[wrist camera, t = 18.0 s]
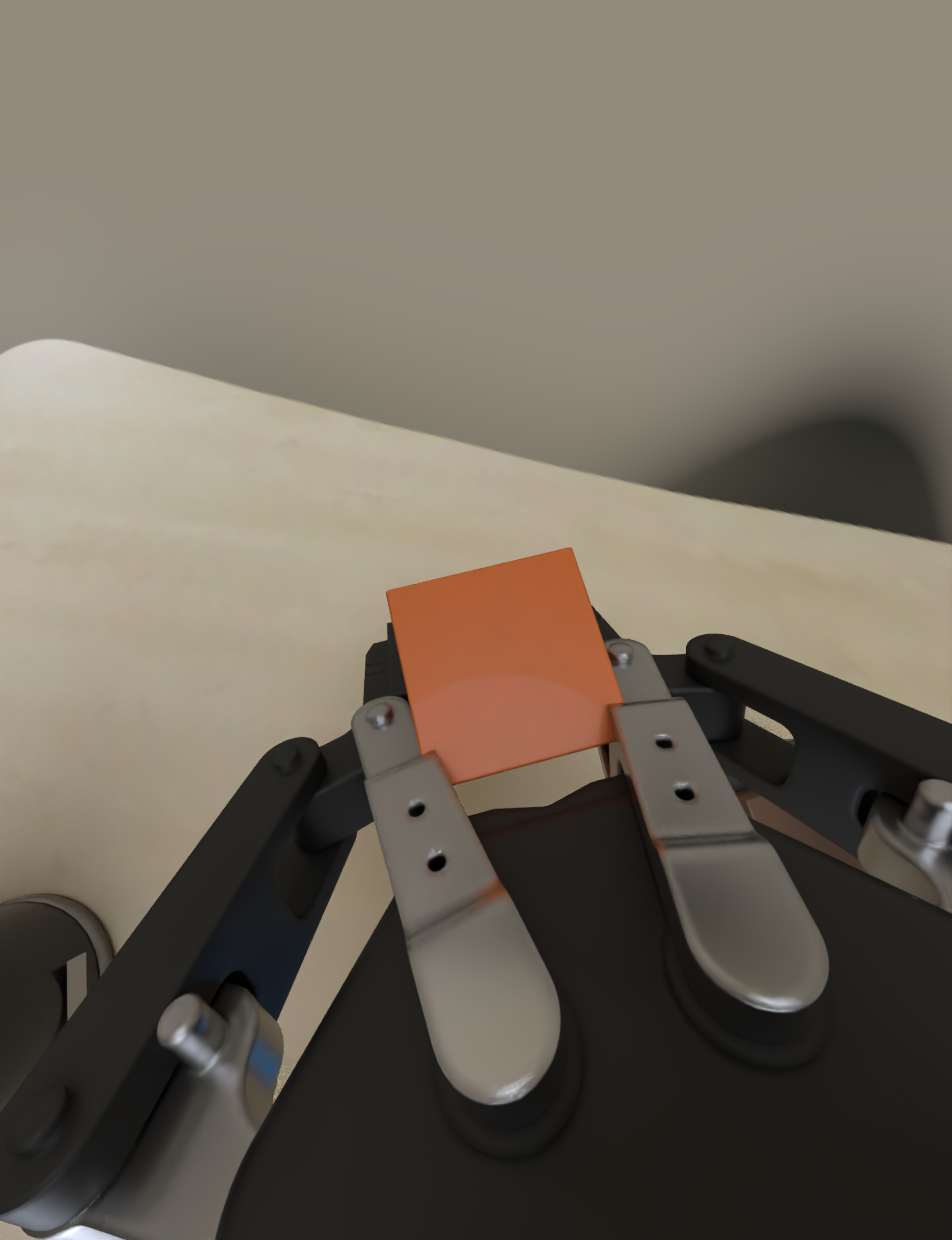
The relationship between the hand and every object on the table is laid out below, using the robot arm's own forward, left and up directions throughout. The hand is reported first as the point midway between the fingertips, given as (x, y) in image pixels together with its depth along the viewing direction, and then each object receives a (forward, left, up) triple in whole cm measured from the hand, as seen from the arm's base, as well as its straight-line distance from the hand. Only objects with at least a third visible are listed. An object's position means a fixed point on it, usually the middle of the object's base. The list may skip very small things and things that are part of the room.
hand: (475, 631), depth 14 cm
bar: (+1, -2, -4) cm, 4 cm away
